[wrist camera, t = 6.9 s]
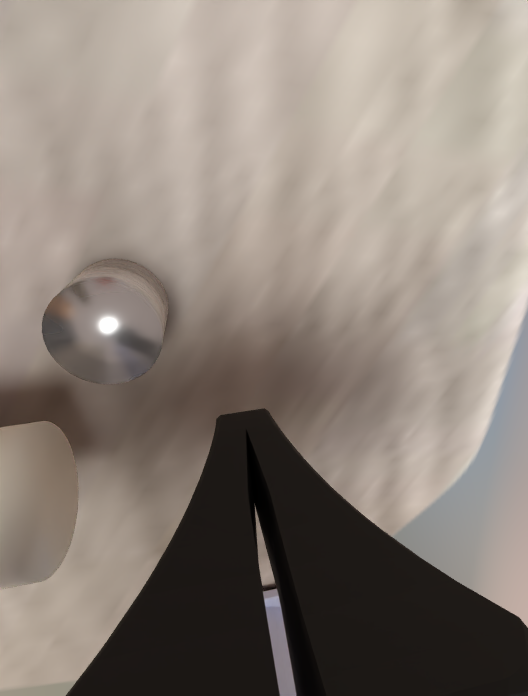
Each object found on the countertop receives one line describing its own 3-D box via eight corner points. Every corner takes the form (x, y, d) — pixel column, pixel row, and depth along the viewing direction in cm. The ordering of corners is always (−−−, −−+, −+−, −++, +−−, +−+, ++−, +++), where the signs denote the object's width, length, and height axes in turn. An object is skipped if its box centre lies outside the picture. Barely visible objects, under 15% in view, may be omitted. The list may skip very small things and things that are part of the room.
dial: (176, 338, 11) (171, 375, 9) (88, 351, 11) (64, 391, 9) (158, 253, 10) (148, 274, 8) (58, 264, 10) (23, 289, 8)
